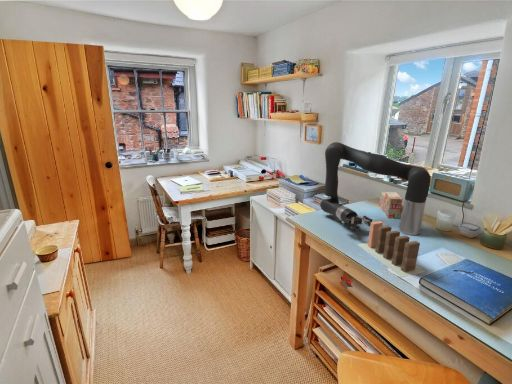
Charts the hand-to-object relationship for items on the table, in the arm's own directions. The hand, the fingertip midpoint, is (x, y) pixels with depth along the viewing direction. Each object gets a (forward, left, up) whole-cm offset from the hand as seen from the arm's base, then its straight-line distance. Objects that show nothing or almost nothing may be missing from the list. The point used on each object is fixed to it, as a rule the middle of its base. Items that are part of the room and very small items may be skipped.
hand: (366, 227), depth 134 cm
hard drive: (+21, +29, -8) cm, 37 cm away
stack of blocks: (-37, +30, -7) cm, 48 cm away
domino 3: (+21, +6, -7) cm, 22 cm away
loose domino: (+6, +2, -7) cm, 9 cm away
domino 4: (+25, +7, -7) cm, 27 cm away
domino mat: (+15, +4, -7) cm, 17 cm away
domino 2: (+16, +4, -7) cm, 18 cm away
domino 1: (+11, +3, -7) cm, 13 cm away
